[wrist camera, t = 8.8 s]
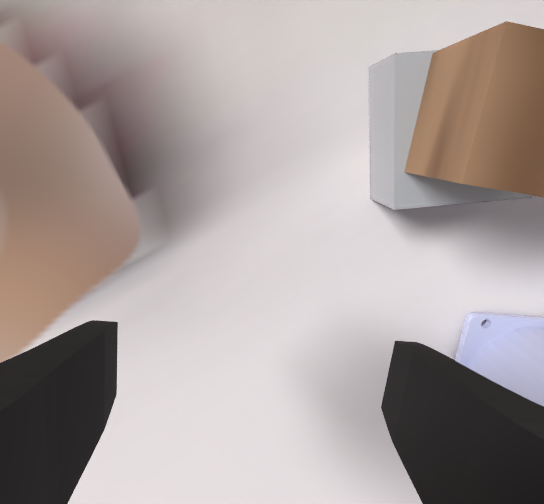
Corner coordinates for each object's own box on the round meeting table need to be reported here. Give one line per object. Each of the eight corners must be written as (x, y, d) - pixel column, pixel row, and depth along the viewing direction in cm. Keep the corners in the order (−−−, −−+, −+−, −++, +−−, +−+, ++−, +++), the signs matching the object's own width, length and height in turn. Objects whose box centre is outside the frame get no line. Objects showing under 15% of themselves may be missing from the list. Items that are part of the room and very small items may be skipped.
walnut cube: (539, 74, 16) (649, 52, 12) (505, 188, 17) (593, 205, 13) (432, 53, 16) (506, 21, 11) (404, 172, 17) (462, 183, 13)
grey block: (492, 58, 19) (546, 42, 16) (484, 187, 21) (531, 197, 18) (366, 68, 19) (395, 53, 16) (368, 197, 21) (394, 209, 17)
